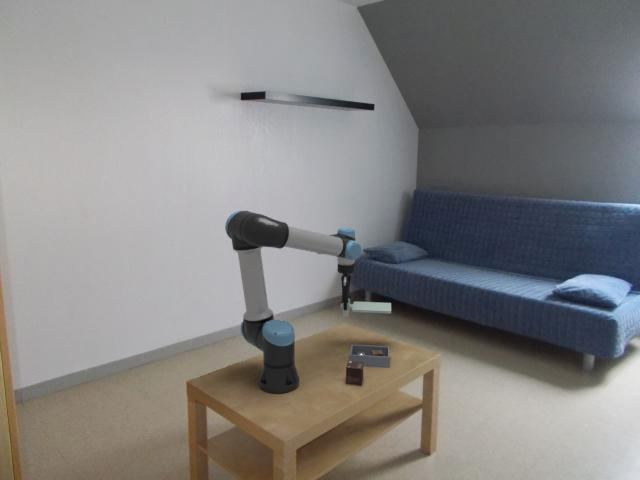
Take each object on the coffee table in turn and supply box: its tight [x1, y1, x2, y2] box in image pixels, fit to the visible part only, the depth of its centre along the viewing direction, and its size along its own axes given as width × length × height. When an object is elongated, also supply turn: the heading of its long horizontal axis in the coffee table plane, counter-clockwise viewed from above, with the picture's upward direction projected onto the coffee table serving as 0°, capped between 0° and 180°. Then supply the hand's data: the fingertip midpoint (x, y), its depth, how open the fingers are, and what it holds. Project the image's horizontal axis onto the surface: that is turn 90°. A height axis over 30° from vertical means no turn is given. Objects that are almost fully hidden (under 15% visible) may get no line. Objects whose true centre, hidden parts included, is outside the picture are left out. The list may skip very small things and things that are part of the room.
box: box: [345, 360, 364, 387], centre depth 187 cm, size 6×6×7 cm
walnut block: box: [371, 350, 383, 356], centre depth 204 cm, size 4×4×4 cm
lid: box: [339, 298, 392, 314], centre depth 216 cm, size 22×12×4 cm, turn 82°
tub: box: [349, 344, 390, 369], centre depth 205 cm, size 16×11×5 cm
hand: (345, 314), depth 218 cm, fingers closed on lid, 4 cm apart
